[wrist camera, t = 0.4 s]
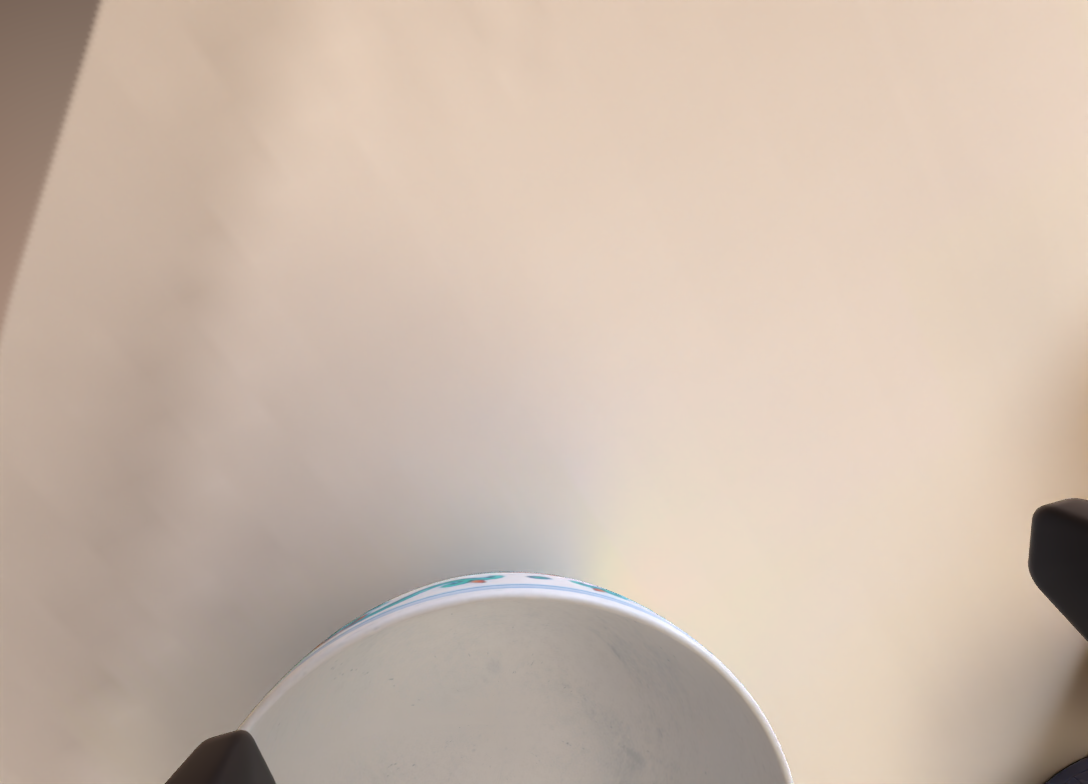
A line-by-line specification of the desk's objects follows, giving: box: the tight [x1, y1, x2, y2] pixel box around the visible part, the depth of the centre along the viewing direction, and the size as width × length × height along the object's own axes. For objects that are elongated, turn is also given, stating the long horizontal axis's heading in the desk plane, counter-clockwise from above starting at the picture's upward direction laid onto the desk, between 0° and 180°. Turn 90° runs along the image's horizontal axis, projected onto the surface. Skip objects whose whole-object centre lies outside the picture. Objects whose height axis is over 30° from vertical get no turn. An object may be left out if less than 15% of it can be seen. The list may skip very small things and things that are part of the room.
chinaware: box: [237, 572, 794, 784], centre depth 19 cm, size 15×15×8 cm
